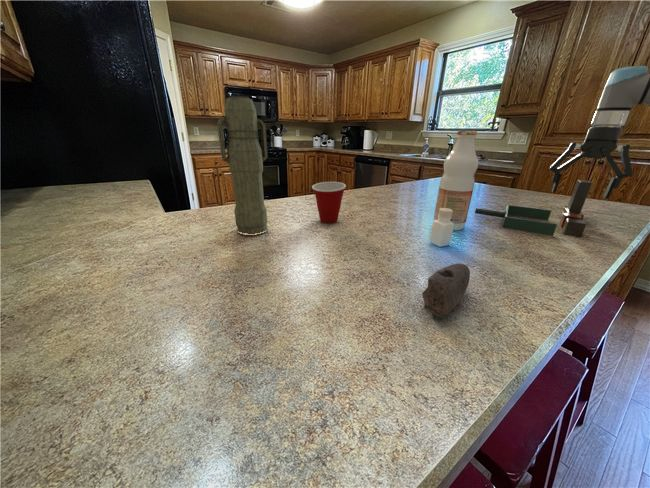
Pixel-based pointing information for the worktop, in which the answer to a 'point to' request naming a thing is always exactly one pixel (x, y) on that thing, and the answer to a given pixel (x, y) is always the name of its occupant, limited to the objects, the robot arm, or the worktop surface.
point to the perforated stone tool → (446, 289)
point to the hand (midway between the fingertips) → (578, 194)
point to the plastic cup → (329, 200)
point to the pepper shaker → (442, 228)
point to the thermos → (245, 163)
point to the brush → (578, 198)
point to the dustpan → (523, 223)
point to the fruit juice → (458, 179)
